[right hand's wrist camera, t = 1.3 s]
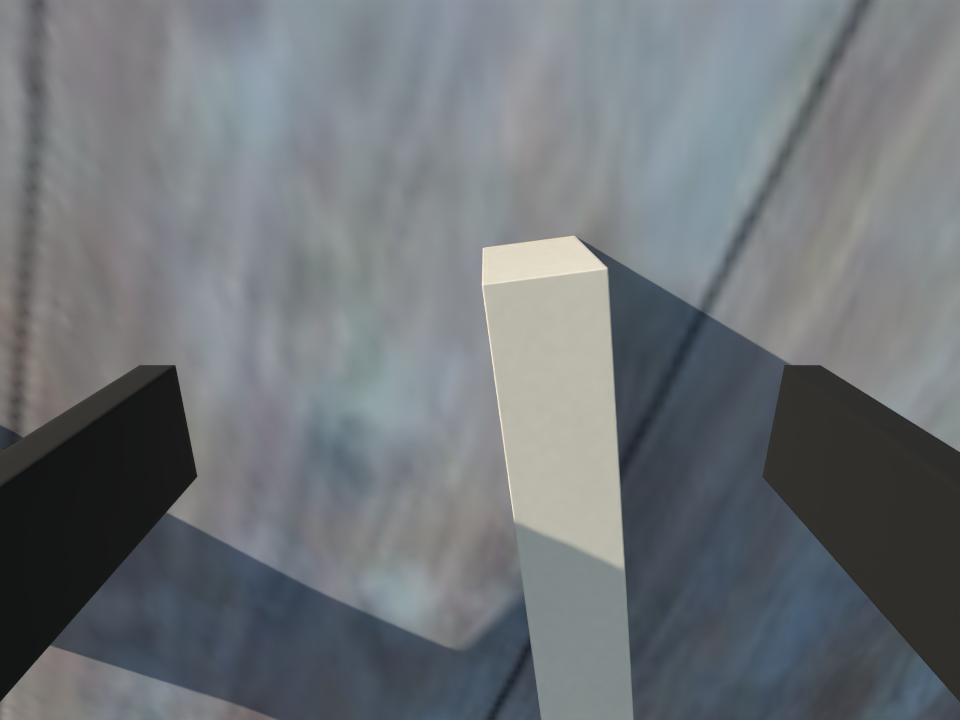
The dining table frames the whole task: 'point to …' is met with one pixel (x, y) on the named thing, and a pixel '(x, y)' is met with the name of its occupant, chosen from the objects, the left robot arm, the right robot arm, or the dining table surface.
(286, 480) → the dining table surface
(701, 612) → the dining table surface
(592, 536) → the bar
